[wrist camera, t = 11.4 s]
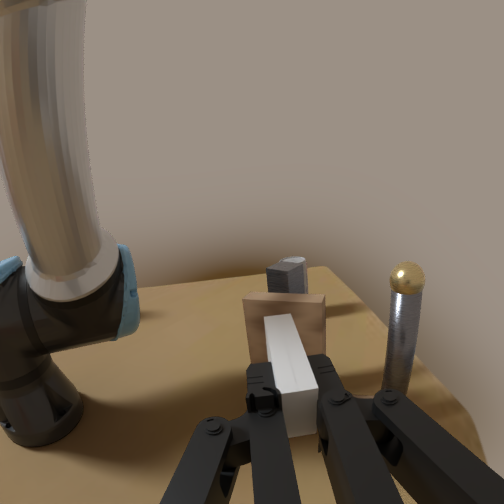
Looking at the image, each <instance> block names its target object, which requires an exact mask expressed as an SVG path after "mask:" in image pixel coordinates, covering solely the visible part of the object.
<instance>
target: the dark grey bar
mask: <svg viewBox="0 0 504 504" xmlns="http://www.w3.org/2000/svg"><path fill="white" fill-rule="evenodd" d="M266 274H267V284H268V293H292V294H305V286H304V269H303V264H302V263H294V262H286V261H281V262H279V263H277V264H274V265H272V266H270V267H267V268H266Z"/></svg>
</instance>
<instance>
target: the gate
mask: <svg viewBox="0 0 504 504" xmlns="http://www.w3.org/2000/svg"><path fill="white" fill-rule="evenodd" d="M242 300H243V307H244V315H245V323H246V330H247V338H248V345H249V353H250V360H251V364H254V363H263V362H268V356H267V345H266V334H265V324H264V317H266V316H274V315H282V314H290V313H291V316H292V318H293V321H294V324H295V326H296V329H297V331H298V334H299V337H300V339H301V342H302V345H303V348H304V350H305V353H306V356H310V355H316V354H322V353H323V354H324V355H326V310H325V294H292V293H267V292H249V293H248V294H247V295H246V296H245V297H244V298H243V299H242ZM353 397H356V398H374V396H367V395H353Z"/></svg>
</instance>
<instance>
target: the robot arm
mask: <svg viewBox="0 0 504 504" xmlns="http://www.w3.org/2000/svg"><path fill="white" fill-rule="evenodd" d="M86 2H87V0H0V174H1V178H2V181H3V185H4V188H5V191H6V194H7V198H8V201H9V203H10V206H11V209H12V212H13V215H14V218H15V221H16V224H17V226H18V229H19V231H20V234H21V237H22V239H23V241H24V244H25V246H26V249H27V251H28V253H29V256H28V258H27V261H26V266H22V265H23V263H22V261H21V260H20V258H19V257H18V256H14V257H11V258H8V259H5V260H3V261H0V425H1V426H2V428H3V430H4V431H5V433H6V434H7V436H8V437H9V438H10V439H11V440H12V441H13V442H15V443H17V444H19V445H22V446H28V447H37V446H43V445H47V444H50V443H53V442H55V441H57V440H59V439H61V438H62V437H64V436H65V435H67V434H68V433H69V432H70V431H71V430H72V429H73V428H74V427H75V426H76V424H77V423H78V422H79V420H80V418H81V415H82V412H83V402H82V400H81V397H80V395H79V393H78V391H77V389H76V388H75V386H74V385H73V384H72V383H71V381H70V380H69V379H68V378H67V377H66V376H65V375H64V374H63V372H62V371H61V370H60V369H59V368H58V367H57V365H56V364H55V363H54V362H53V360H52V358H51V356H50V353H54V352H59V351H64V350H69V349H73V348H78V347H83V346H87V345H92V344H97V343H102V342H107V341H116V340H117V339H118V338H121V337H124V336H128V335H131V334H133V333H134V332H135V331H136V330H137V329H138V327H139V323H140V307H139V297H138V293H137V281H136V275H135V270H134V264H133V261H132V256H131V253H130V250H129V248H128V247H127V246H126V245H120V244H117V242H116V240H115V239H114V237H113V235H112V234H111V233H110V232H109V231H107V230H106V229H104V228H102V227H100V223H99V217H98V212H97V207H96V200H95V195H94V188H93V182H92V175H91V167H90V159H89V151H88V141H87V132H86V118H85V103H84V71H83V70H84V28H85V13H86ZM264 324H265V334H266V345H267V356H268V362H263V363H254V364H250V365H249V367H248V369H247V370H246V373H247V389H248V393H247V395H246V403H247V411H246V412H245V414H244V415H242V416H241V417H239V418H237V419H234V420H231V421H228V420H226V419H225V418H222V417H209V418H206V419H204V420H202V421H201V422H200V423H199V424H198V425H197V427H196V429H195V431H194V433H193V435H192V437H191V440H190V442H189V444H188V446H187V448H186V450H185V452H184V454H183V456H182V458H181V461H180V463H179V465H178V467H177V469H176V471H175V473H174V475H173V477H172V479H171V481H170V483H169V485H168V487H167V489H166V491H165V493H164V496H163V498H162V500H161V502H160V504H229V501H230V498H231V495H232V492H233V488H234V485H235V482H236V478H237V475H238V472H239V468H240V466H241V465H244V464H247V463H250V462H251V464H252V478H253V491H254V504H301V500H300V495H299V490H298V485H297V480H296V475H295V470H294V465H293V460H292V455H291V450H290V445H289V440H288V438H291V437H298V436H304V435H310V434H316V433H317V428H318V432H319V444H318V453H319V452H321V451H322V455H323V458H324V462H325V465H326V468H327V472H328V475H329V479H330V482H331V486H332V489H333V493H334V496H335V500H336V503H337V504H404V503H403V501H402V499H401V496H400V494H399V492H398V490H397V488H396V485H395V483H394V481H393V479H392V477H391V474H392V475H393V476H394V478H395V479H396V480H397V481H398V482H399V483H400V484H401V486H402V487H403V488H404V489H405V490H406V491H407V492H408V493H409V495H410V496H411V497H412V498H413V499H414V500H415V501H416V502H417V503H418V504H504V479H503V478H502V477H500V476H499V475H498V474H497V473H495V472H494V471H493V470H492V469H491V468H490V467H488V466H487V465H486V464H485V463H484V462H483V461H481V460H480V459H479V458H478V457H477V456H475V455H474V454H473V453H472V452H471V451H470V450H468V449H467V448H466V447H465V446H464V445H462V444H461V443H460V442H459V441H458V440H457V439H455V438H454V437H453V436H452V435H451V434H449V433H448V432H447V431H446V430H445V429H444V428H442V427H441V426H440V425H439V424H438V423H437V422H435V421H434V420H433V419H432V418H431V417H429V416H428V415H427V414H426V413H425V412H424V411H422V410H421V409H420V408H419V407H418V406H417V405H415V404H414V403H413V402H412V401H411V400H410V399H408V398H407V397H406V396H405V395H404V394H403V393H401V392H400V391H398V390H395V389H384V390H380V391H379V392H377V393H376V394H375V396H374V398H356V397H353V395H352V394H351V393H350V392H348V391H346V390H345V389H344V387H343V385H342V383H341V381H340V379H339V377H338V374H337V372H336V371H335V368H334V366H333V364H332V362H331V360H330V358H329V357H327V356H326V355H324V354H323V353H322V354H316V355H310V356H306V353H305V350H304V348H303V345H302V342H301V339H300V337H299V334H298V331H297V329H296V326H295V324H294V321H293V318H292V316H291V313H290V314H282V315H274V316H266V317H264ZM390 473H391V474H390Z"/></svg>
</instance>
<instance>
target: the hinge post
mask: <svg viewBox="0 0 504 504" xmlns="http://www.w3.org/2000/svg"><path fill="white" fill-rule="evenodd" d="M424 285H425V274H424V272H423V270H422V268H421V267H420V266H419V265H418V264H416V263H414V262H411V261H405V262H401V263H399V264H398V265H396V266H395V267H394V269H393V270H392V272H391V275H390V286H391V307H390V319H389V331H388V341H387V350H386V359H385V366H384V374H383V381H382V387H381V390H384V389H395V390H398V391H400V392H401V393H403V394H404V395H405V396H406V394H407V390H408V385H409V380H410V376H411V370H412V365H413V359H414V354H415V347H416V341H417V334H418V326H419V319H420V309H421V300H422V290H423V288H424Z"/></svg>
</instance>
